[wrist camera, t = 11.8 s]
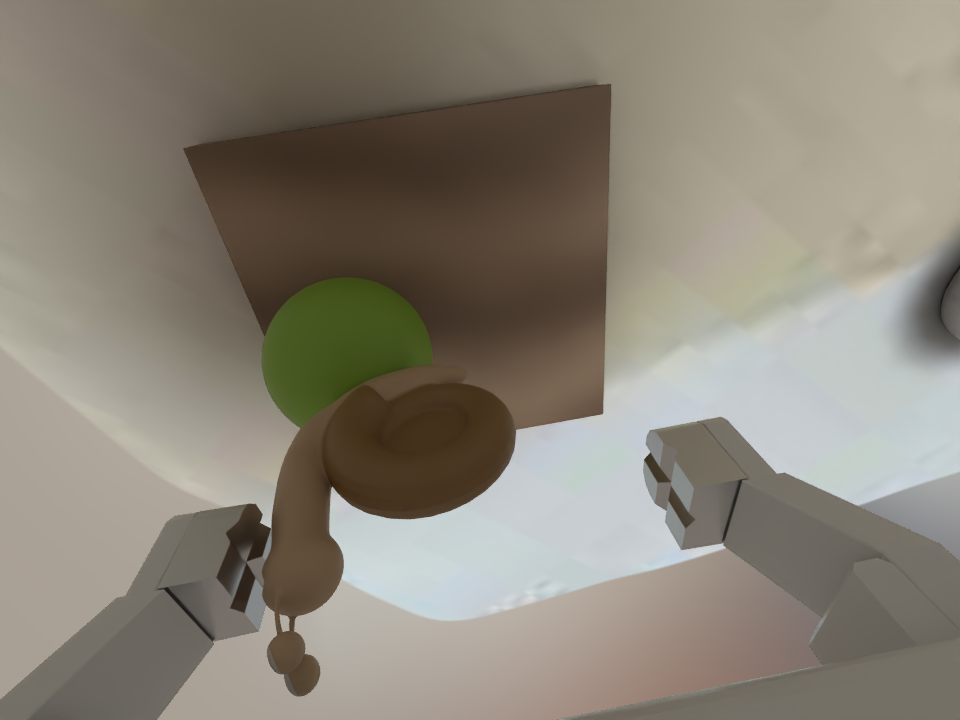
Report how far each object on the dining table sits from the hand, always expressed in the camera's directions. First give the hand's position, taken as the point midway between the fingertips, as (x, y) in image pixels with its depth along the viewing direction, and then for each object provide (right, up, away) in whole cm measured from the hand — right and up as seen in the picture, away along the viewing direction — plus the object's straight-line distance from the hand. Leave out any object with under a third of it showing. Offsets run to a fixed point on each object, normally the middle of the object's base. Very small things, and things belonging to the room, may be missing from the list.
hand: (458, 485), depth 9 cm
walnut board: (-1, +5, +10) cm, 11 cm away
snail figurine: (-6, +4, +8) cm, 10 cm away
